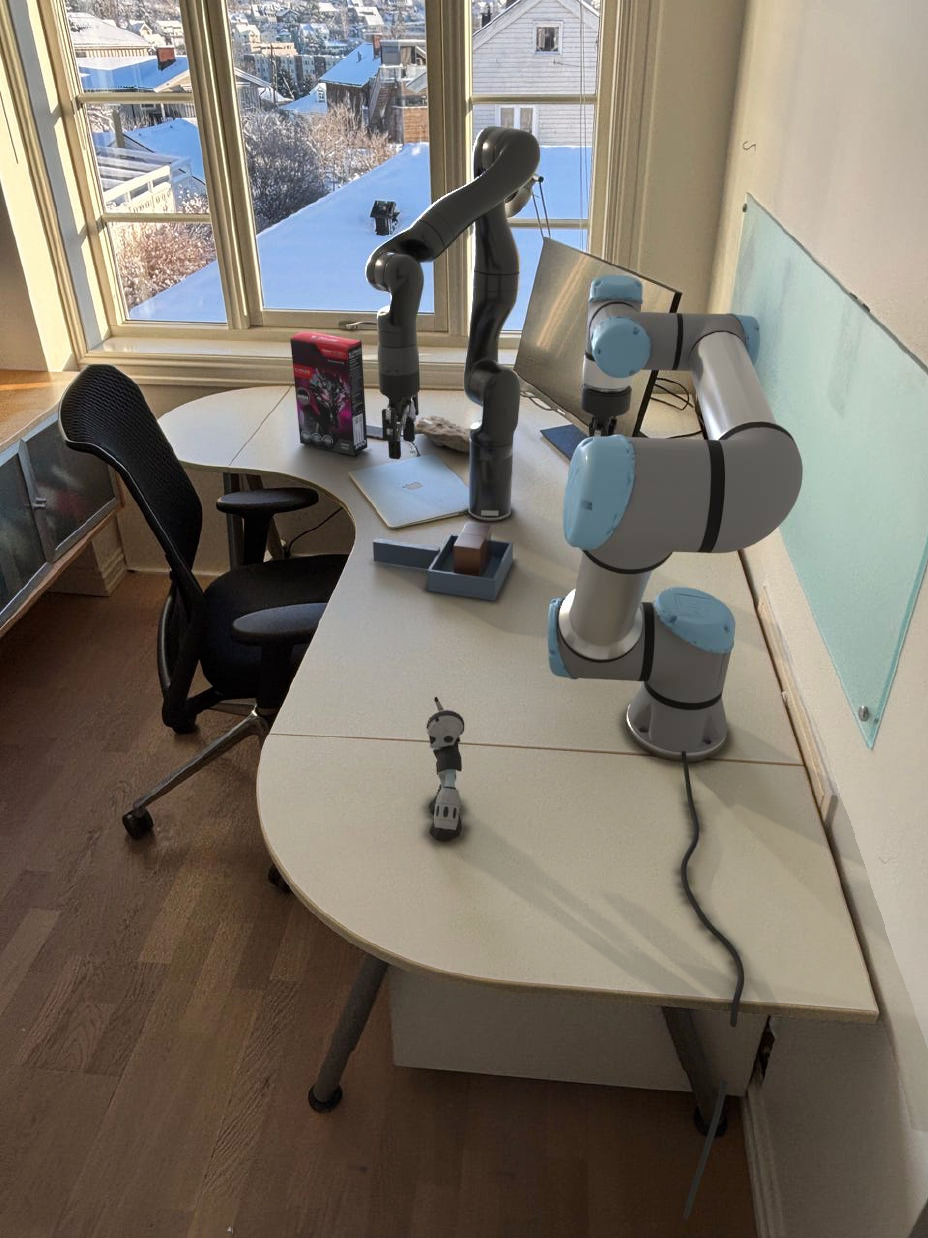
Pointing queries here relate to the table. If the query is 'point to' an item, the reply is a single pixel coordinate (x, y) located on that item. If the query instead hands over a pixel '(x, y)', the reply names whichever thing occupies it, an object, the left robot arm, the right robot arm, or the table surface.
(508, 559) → the tray
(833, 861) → the table surface
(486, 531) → the walnut block
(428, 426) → the stone
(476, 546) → the walnut block
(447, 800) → the robot
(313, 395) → the graphics card box
